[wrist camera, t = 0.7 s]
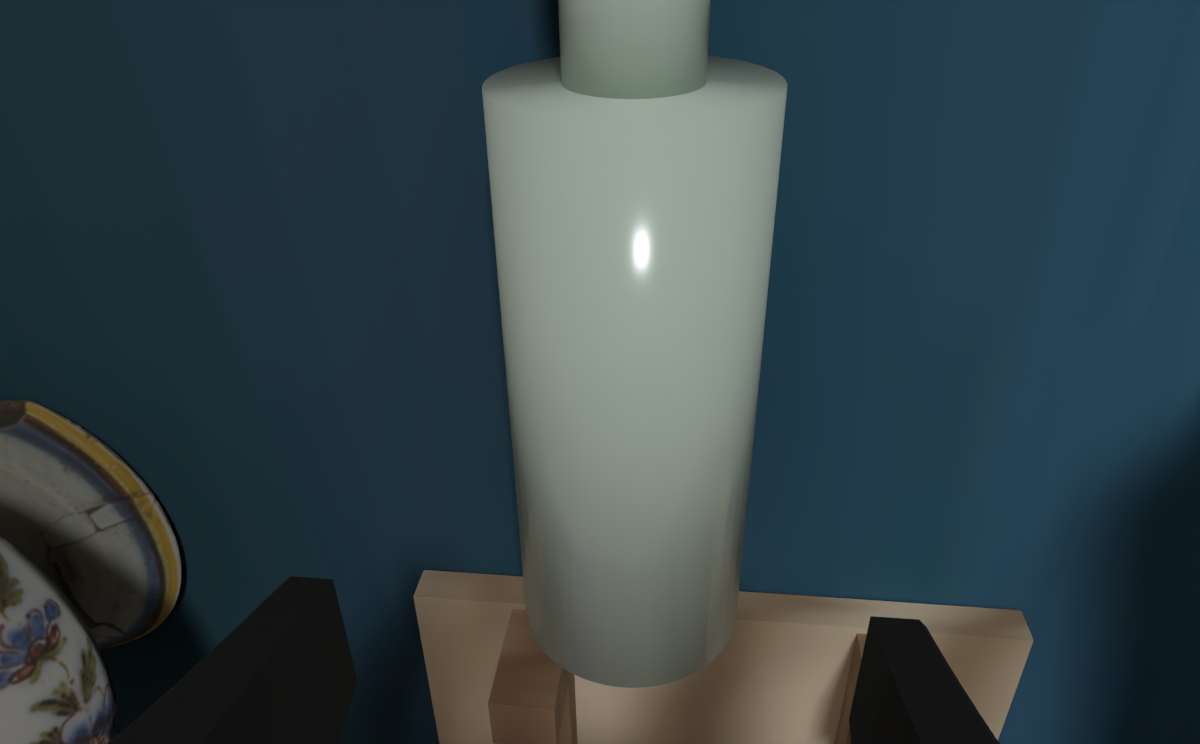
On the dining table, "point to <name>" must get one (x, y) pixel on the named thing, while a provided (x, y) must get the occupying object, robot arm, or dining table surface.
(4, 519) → the apothecary jar
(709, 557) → the bottle
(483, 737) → the bottle rest
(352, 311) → the dining table surface
